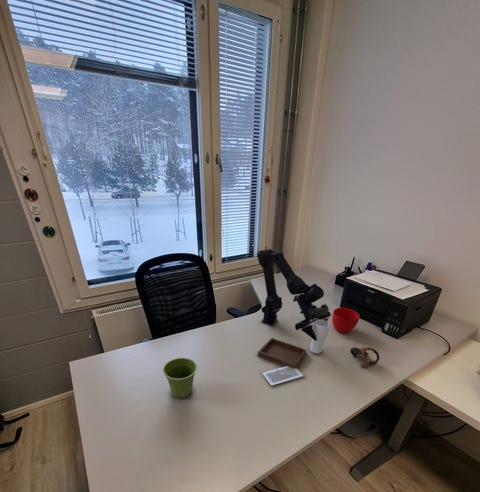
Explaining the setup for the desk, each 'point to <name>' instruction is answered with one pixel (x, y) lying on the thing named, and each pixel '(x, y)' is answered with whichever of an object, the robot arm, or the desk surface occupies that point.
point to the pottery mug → (364, 355)
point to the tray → (282, 353)
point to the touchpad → (282, 375)
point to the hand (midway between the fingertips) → (321, 337)
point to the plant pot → (180, 376)
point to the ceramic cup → (345, 319)
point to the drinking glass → (319, 335)
